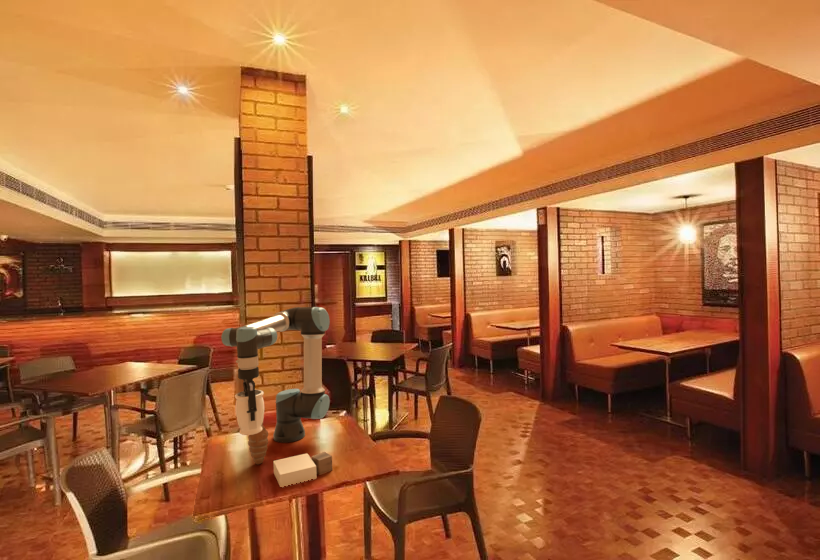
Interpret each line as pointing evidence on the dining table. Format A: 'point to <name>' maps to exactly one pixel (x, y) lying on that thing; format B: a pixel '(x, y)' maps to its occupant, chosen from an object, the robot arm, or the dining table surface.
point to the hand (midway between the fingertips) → (250, 424)
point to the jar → (242, 413)
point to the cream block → (294, 470)
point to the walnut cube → (322, 462)
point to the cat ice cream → (258, 445)
